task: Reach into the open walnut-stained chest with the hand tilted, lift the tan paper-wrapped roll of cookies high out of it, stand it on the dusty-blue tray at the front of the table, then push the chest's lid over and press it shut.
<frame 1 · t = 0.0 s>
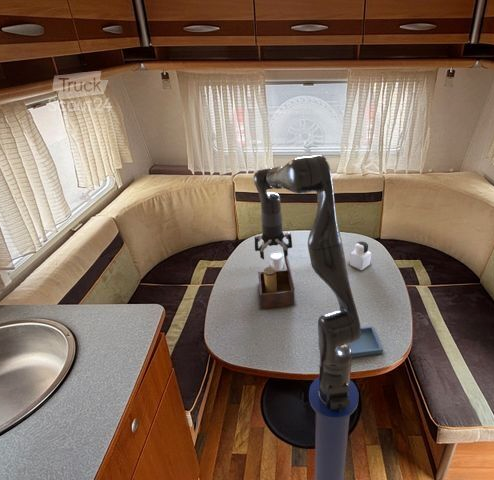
hand: (274, 257, 139), 23 cm above the table, tool pointing down, fingers open, 8 cm apart
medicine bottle: (359, 265, 173), on the table
chest lid: (288, 265, 147), point 15 cm above the table, hinge at 80.0°
chest: (276, 294, 155), on the table
tray: (356, 343, 131), on the table
white cylinder: (277, 267, 172), on the table
cookie roll: (271, 293, 154), point 1 cm above the table, touching chest
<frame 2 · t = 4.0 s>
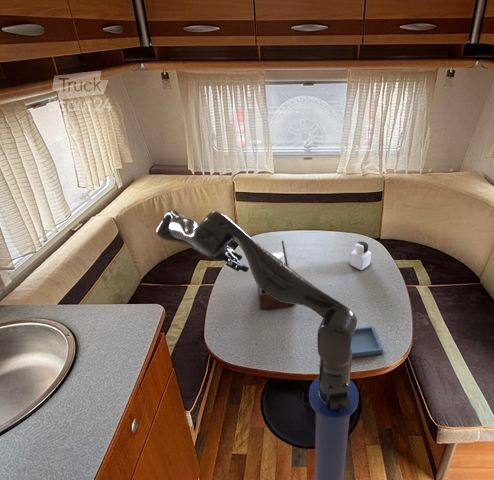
hand: (244, 264, 140), 20 cm above the table, tool tilted 45°, fingers open, 8 cm apart
nothing on the table moved.
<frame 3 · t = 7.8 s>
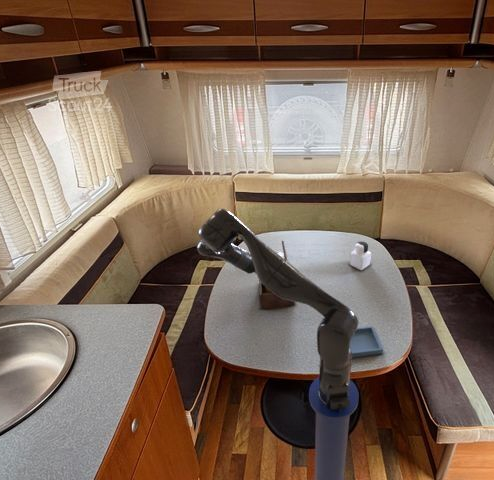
hand: (274, 276, 150), 10 cm above the table, tool tilted 45°, fingers closed on cookie roll, 5 cm apart
cookie roll: (271, 293, 154), point 1 cm above the table, touching chest, gripper
everything else where it was.
when the fingers open (9 cm above the table, at t = 26.5 s): cookie roll stays where it is, resting on tray.
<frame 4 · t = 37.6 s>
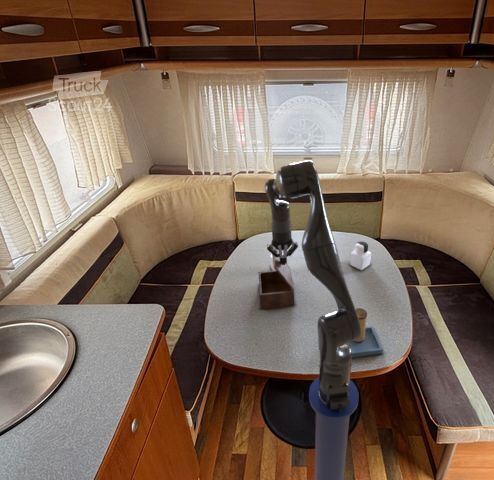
hand: (283, 263, 147), 16 cm above the table, tool pointing down, fingers closed
chest lid: (282, 267, 148), point 14 cm above the table, hinge at 60.9°, touching gripper
cookie roll: (357, 337, 133), point 1 cm above the table, touching tray
everything else where it was.
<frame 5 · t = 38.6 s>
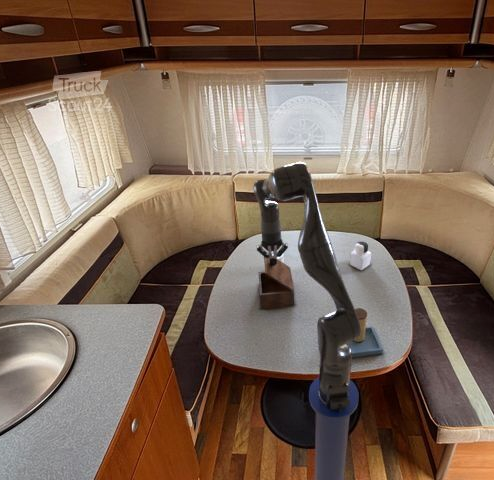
hand: (273, 264, 146), 16 cm above the table, tool pointing down, fingers closed
chest lid: (278, 270, 148), point 13 cm above the table, hinge at 43.7°, touching gripper
everything else where it was.
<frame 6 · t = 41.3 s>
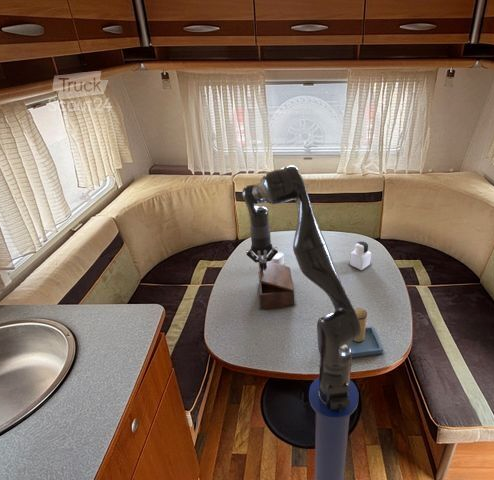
hand: (263, 269, 147), 14 cm above the table, tool pointing down, fingers closed
chest lid: (275, 274, 149), point 11 cm above the table, hinge at 26.3°, touching gripper
everything else where it was.
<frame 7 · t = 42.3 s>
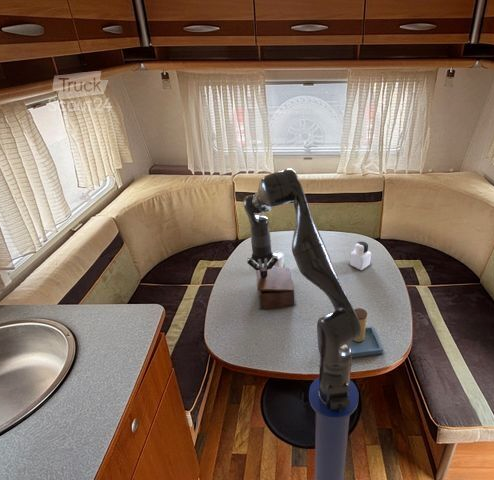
hand: (264, 276, 149), 10 cm above the table, tool pointing down, fingers closed
chest lid: (274, 278, 150), point 9 cm above the table, hinge at 9.7°, touching gripper
everything else where it was.
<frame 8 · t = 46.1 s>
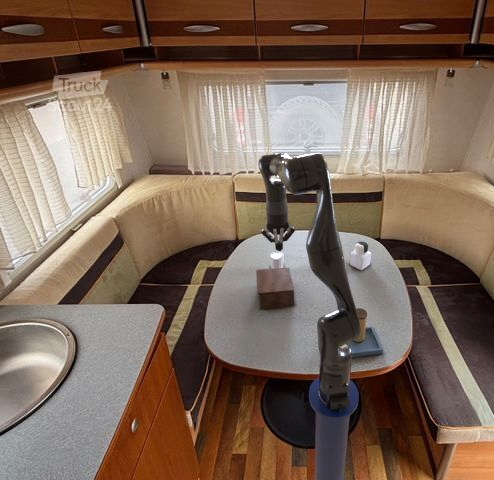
hand: (279, 250, 136), 27 cm above the table, tool pointing down, fingers closed
chest lid: (274, 280, 150), point 8 cm above the table, hinge at 1.6°
everything else where it was.
at the end: cookie roll inside the target area in the tray (2.4 cm from its centre), point 0.6 cm above the tray's base; cookie roll tilted 0°; chest lid at +2° (first picture: +80°) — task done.
